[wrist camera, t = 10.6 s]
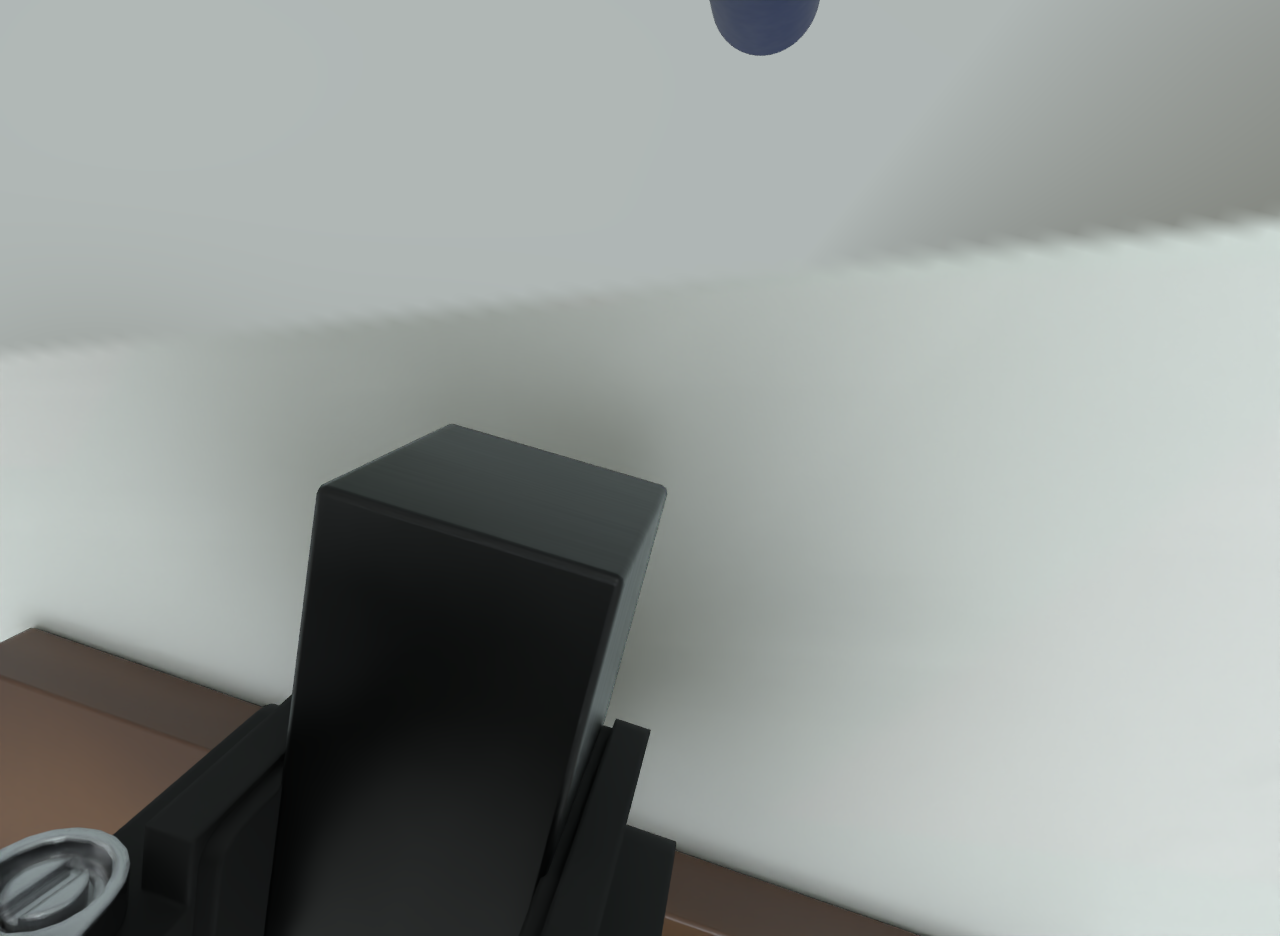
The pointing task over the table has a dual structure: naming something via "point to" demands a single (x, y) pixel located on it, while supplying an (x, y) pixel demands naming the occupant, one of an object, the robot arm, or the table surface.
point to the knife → (450, 682)
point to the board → (202, 718)
